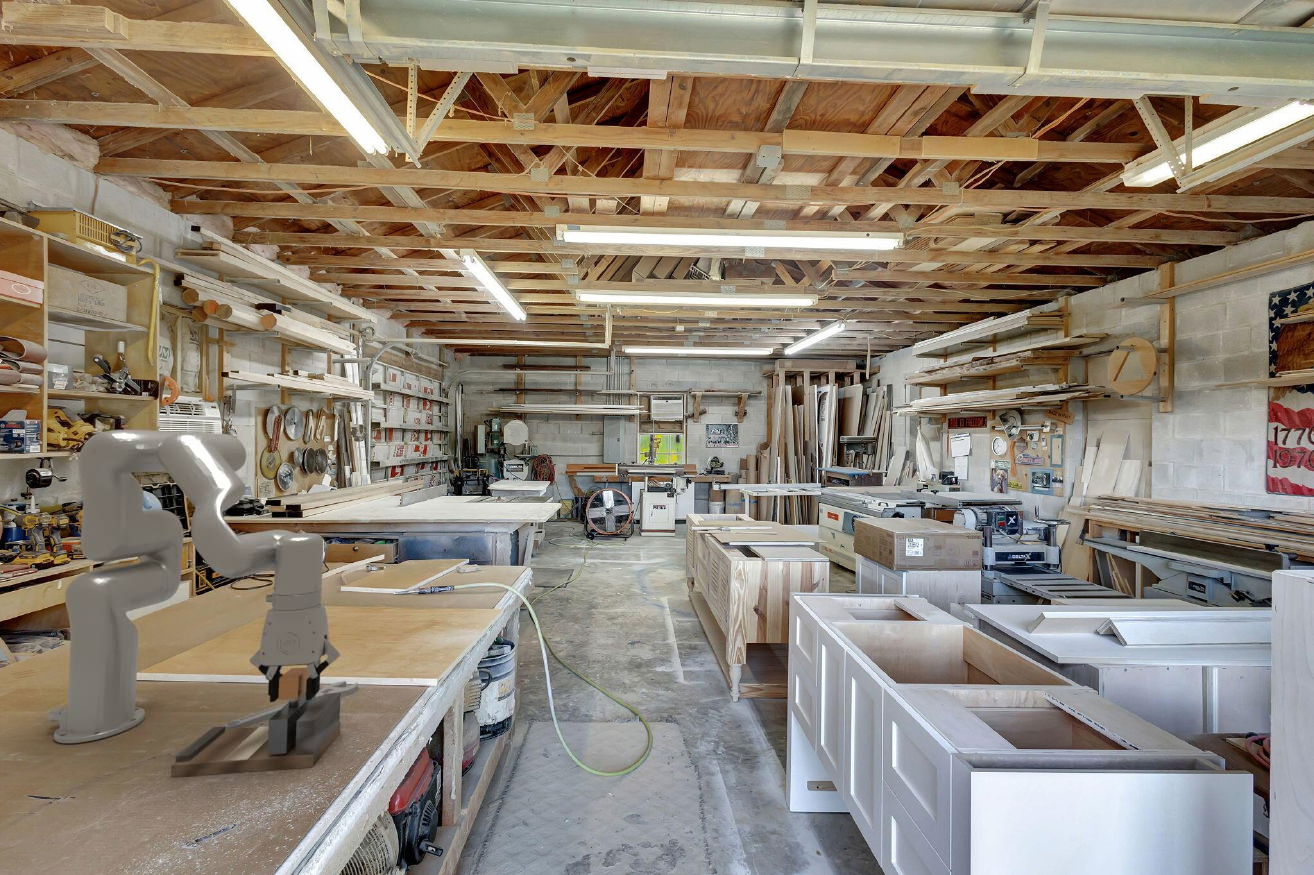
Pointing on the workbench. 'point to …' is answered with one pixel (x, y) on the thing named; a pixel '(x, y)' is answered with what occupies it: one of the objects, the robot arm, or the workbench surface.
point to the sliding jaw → (289, 711)
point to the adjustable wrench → (269, 713)
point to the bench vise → (262, 745)
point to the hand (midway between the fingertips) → (294, 696)
